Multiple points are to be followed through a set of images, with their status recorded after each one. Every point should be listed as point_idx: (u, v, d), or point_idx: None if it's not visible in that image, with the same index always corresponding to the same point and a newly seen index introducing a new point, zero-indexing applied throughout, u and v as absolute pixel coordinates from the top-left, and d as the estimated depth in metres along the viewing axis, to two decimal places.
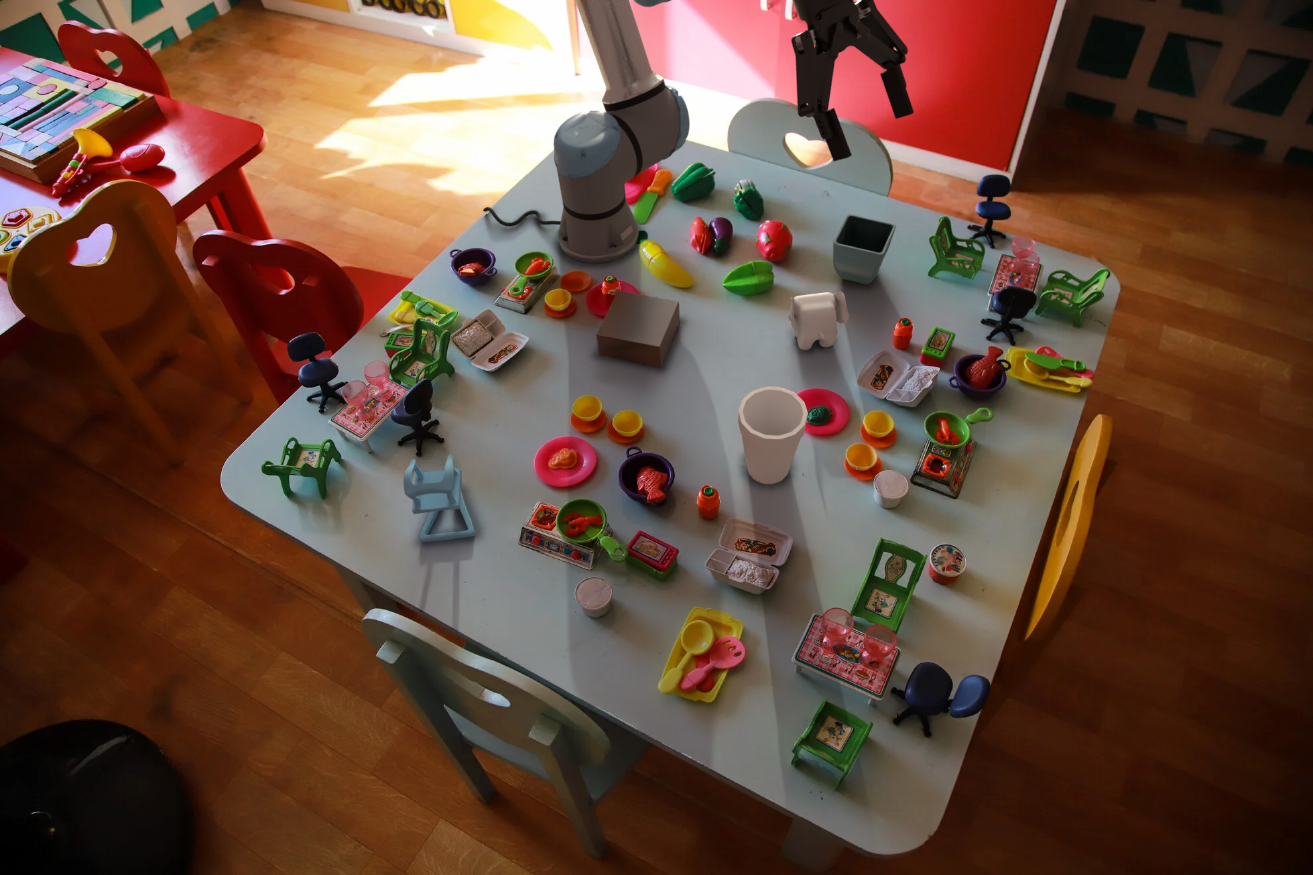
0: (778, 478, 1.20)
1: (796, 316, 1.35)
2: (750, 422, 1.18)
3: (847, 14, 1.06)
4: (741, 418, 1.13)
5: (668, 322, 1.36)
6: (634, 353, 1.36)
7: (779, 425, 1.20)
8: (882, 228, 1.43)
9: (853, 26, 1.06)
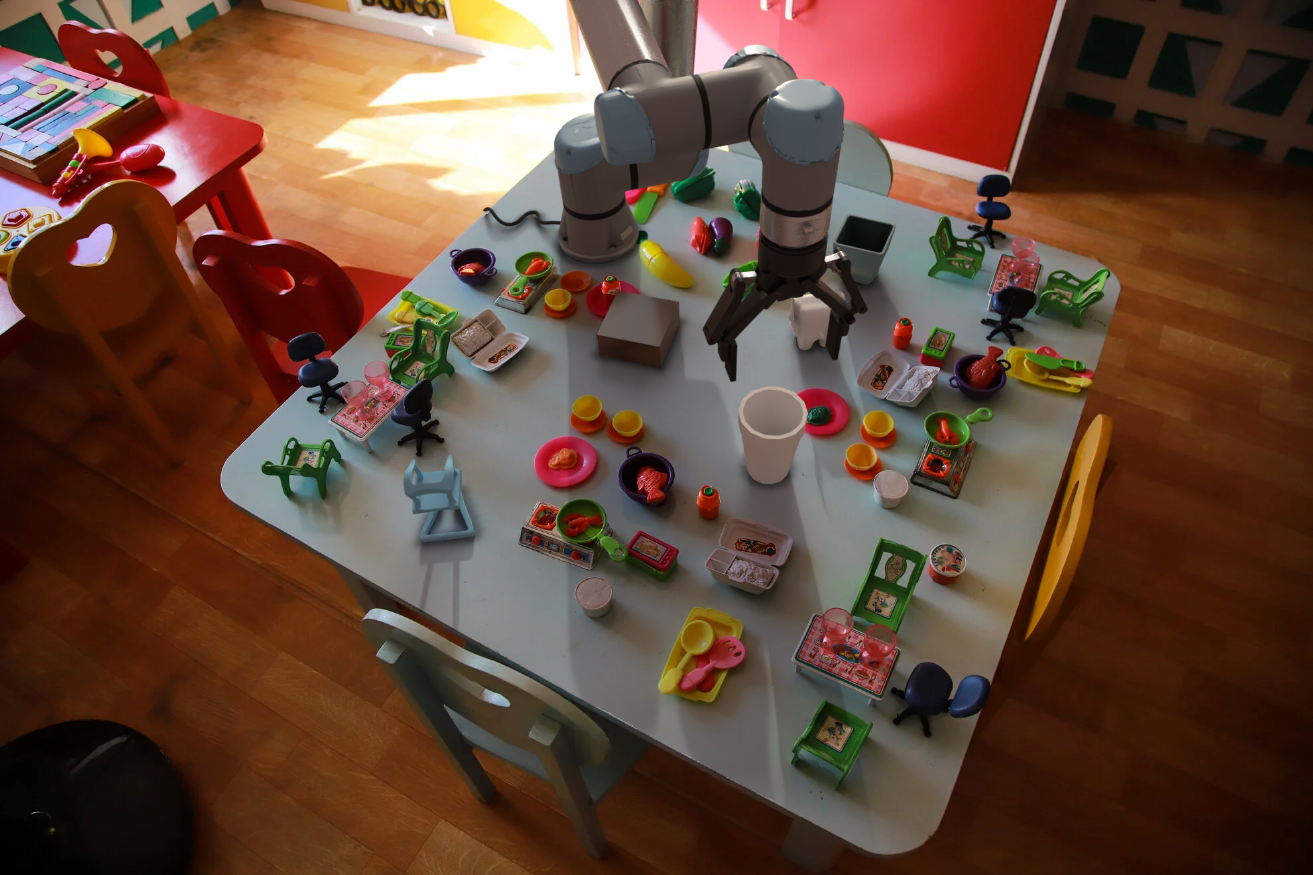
0: (778, 478, 1.20)
1: (796, 316, 1.35)
2: (750, 422, 1.18)
3: None
4: (741, 418, 1.13)
5: (668, 322, 1.36)
6: (634, 353, 1.36)
7: (779, 425, 1.20)
8: (882, 228, 1.43)
9: (803, 288, 0.94)
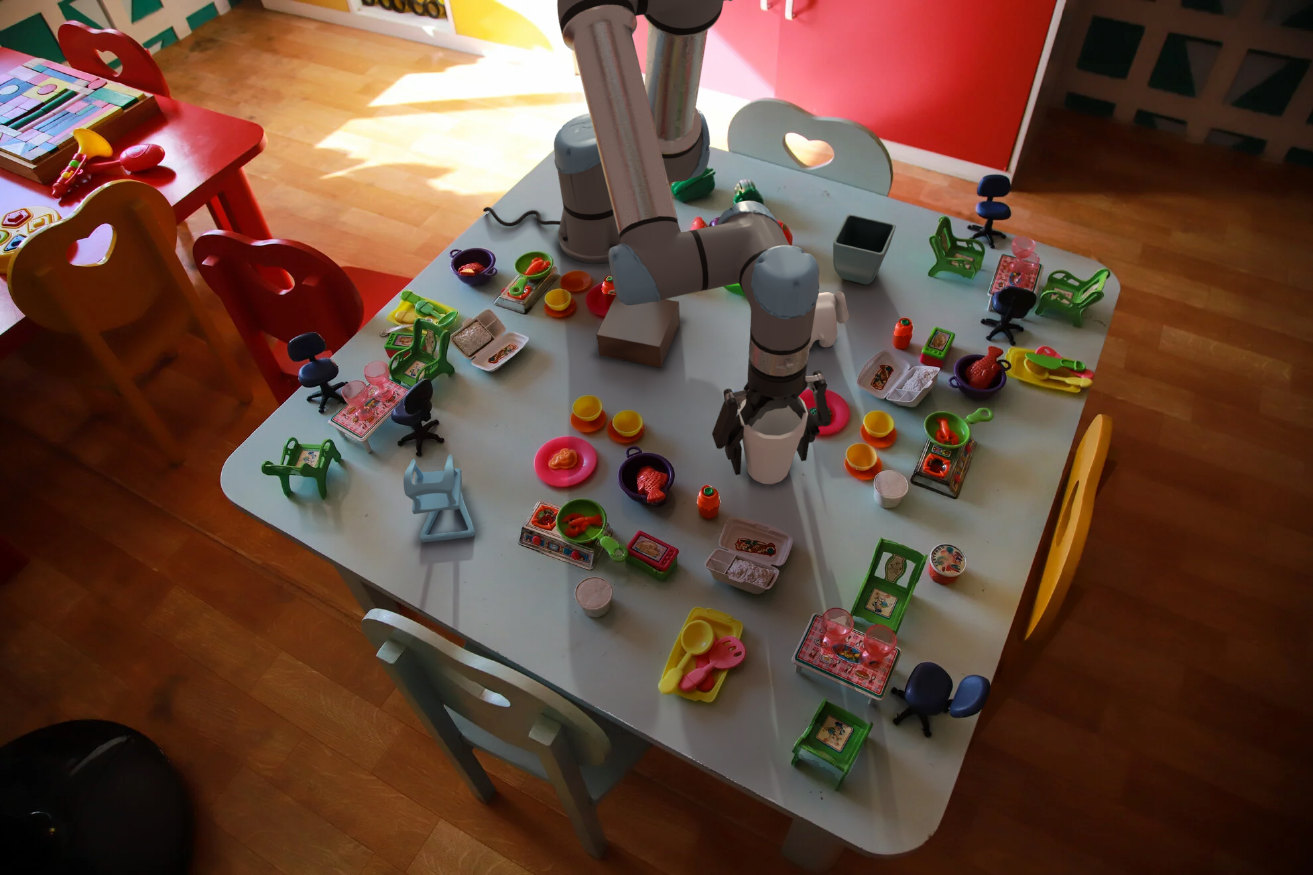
0: (778, 478, 1.20)
1: None
2: None
3: None
4: (741, 418, 1.13)
5: (668, 322, 1.36)
6: (634, 353, 1.36)
7: (779, 425, 1.20)
8: (882, 228, 1.43)
9: (786, 402, 1.09)
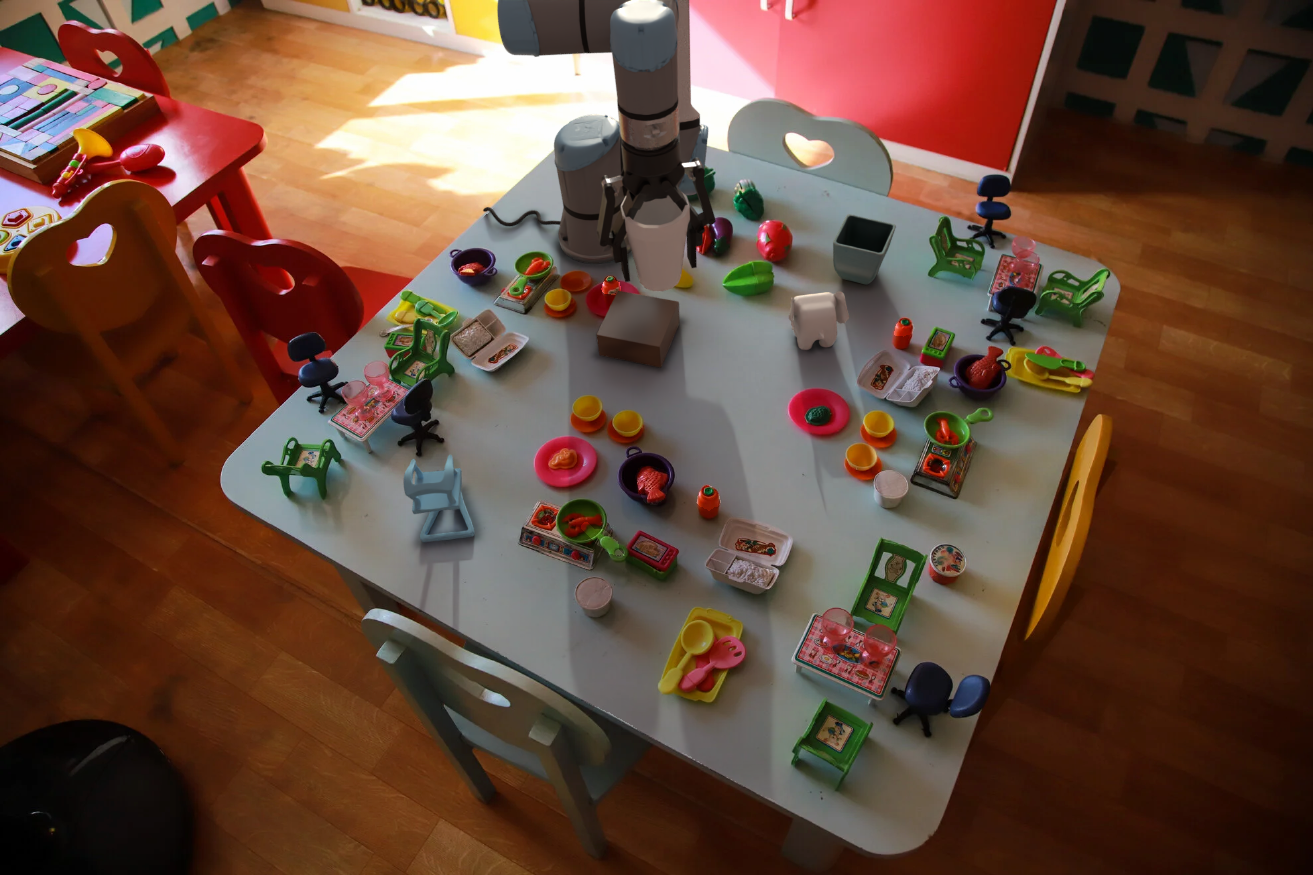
0: (668, 284, 1.20)
1: (796, 316, 1.35)
2: None
3: (666, 175, 1.08)
4: (622, 212, 1.12)
5: (668, 322, 1.36)
6: (634, 353, 1.36)
7: None
8: (882, 228, 1.43)
9: (663, 189, 1.08)
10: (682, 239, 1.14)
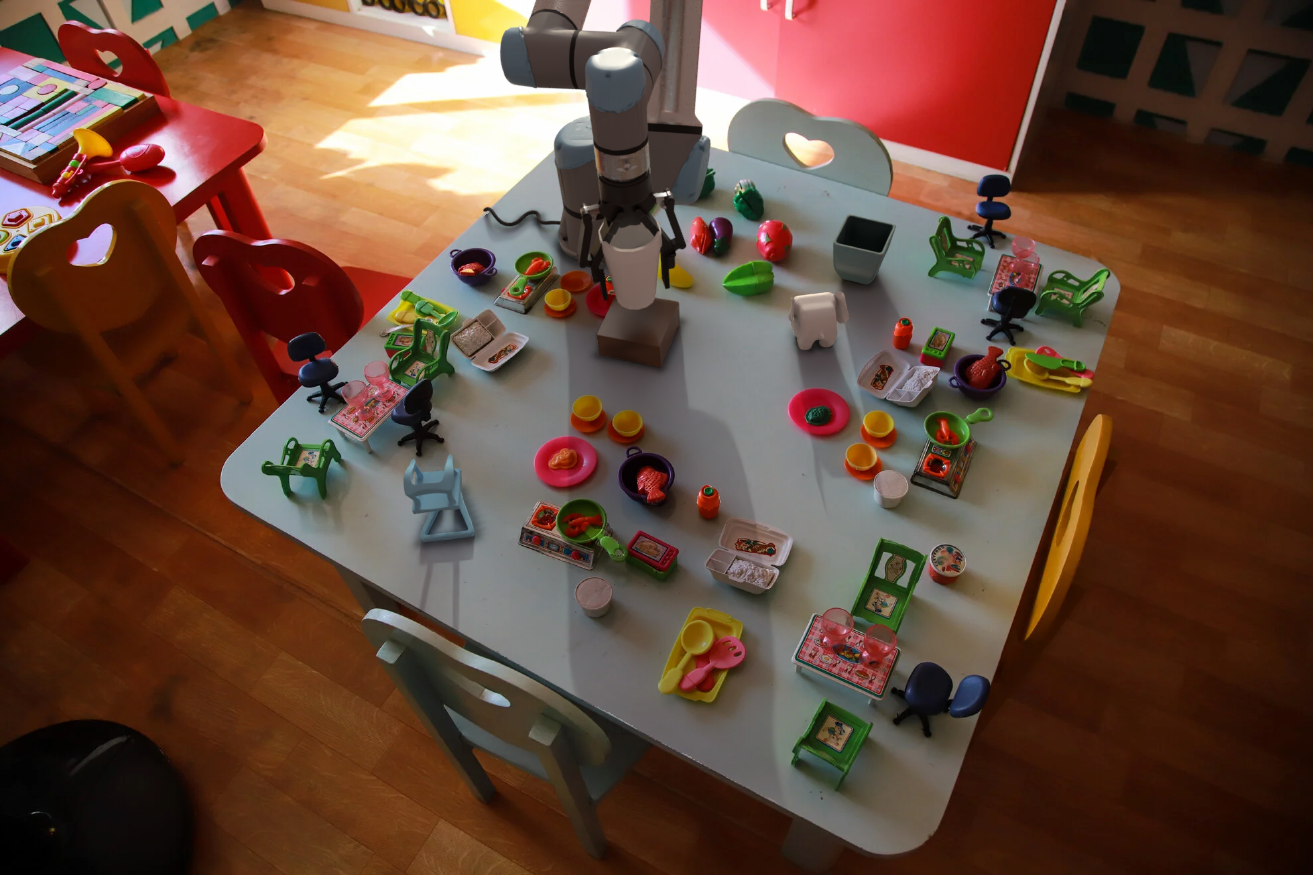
0: (642, 303, 1.30)
1: (796, 316, 1.35)
2: None
3: (639, 204, 1.18)
4: (600, 236, 1.22)
5: (668, 322, 1.36)
6: (634, 353, 1.36)
7: None
8: (882, 228, 1.43)
9: (636, 216, 1.19)
10: (655, 262, 1.24)
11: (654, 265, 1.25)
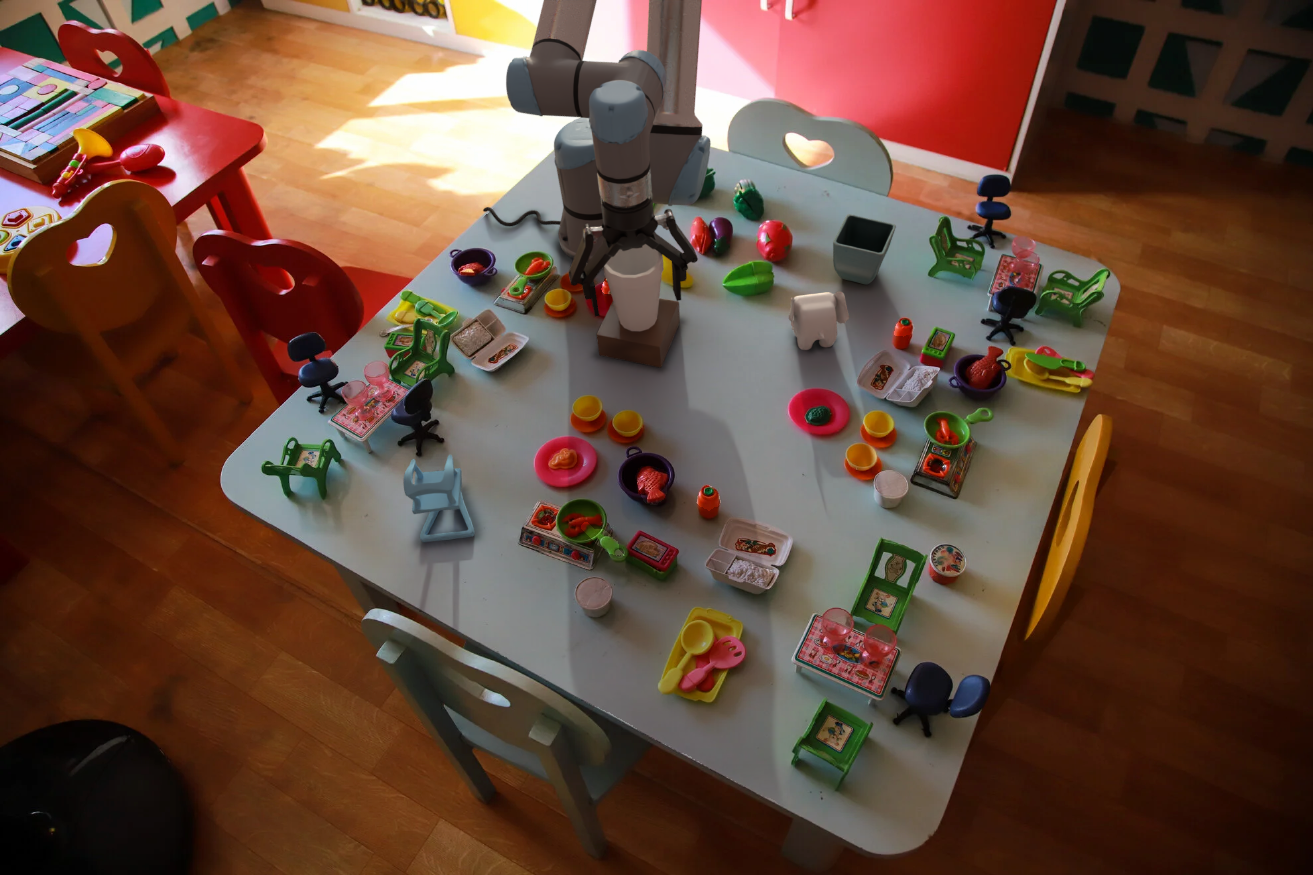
0: (645, 325, 1.34)
1: (796, 316, 1.35)
2: (617, 272, 1.32)
3: (641, 228, 1.21)
4: None
5: (668, 322, 1.36)
6: (634, 353, 1.36)
7: None
8: (882, 228, 1.43)
9: (639, 240, 1.22)
10: (656, 286, 1.28)
11: (656, 289, 1.29)
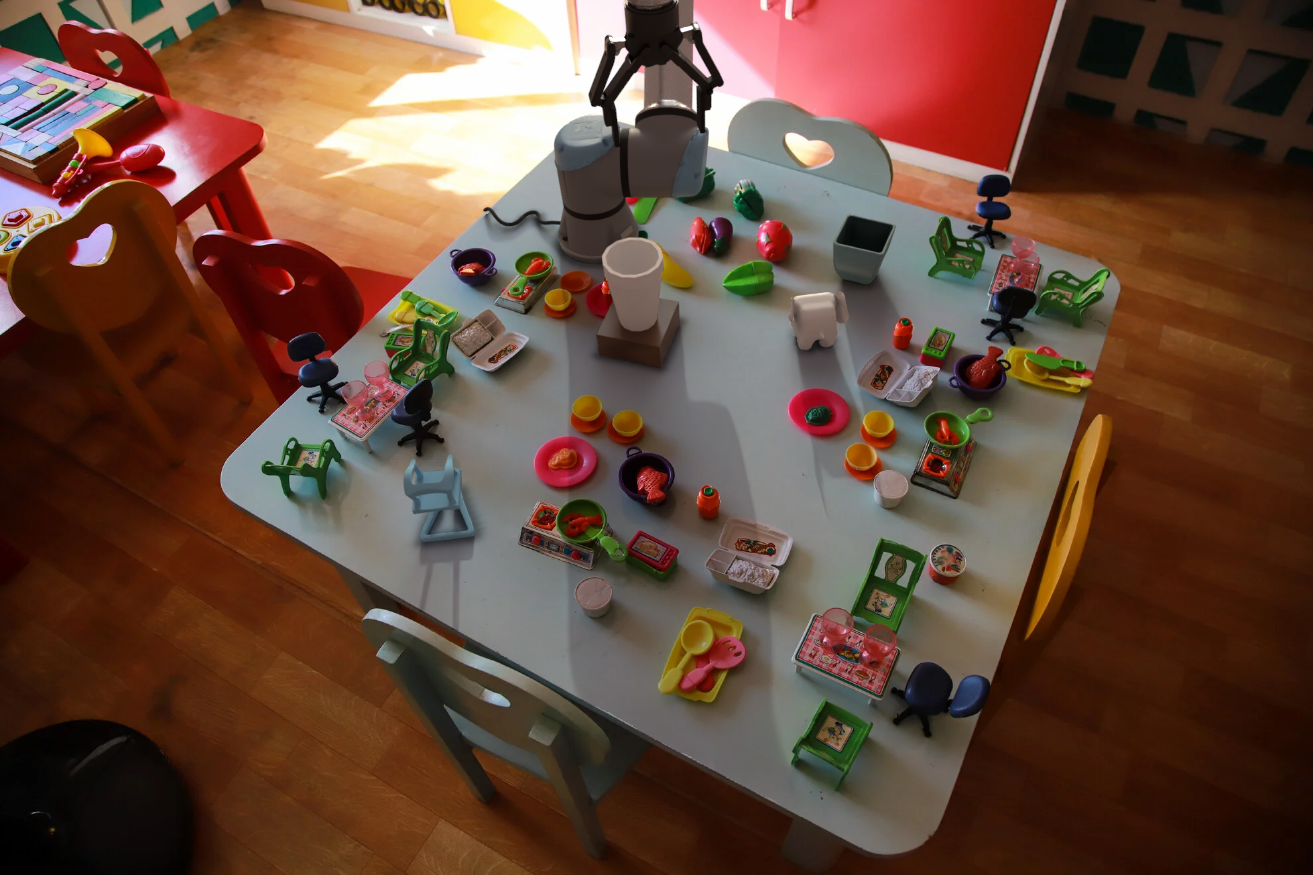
0: (645, 325, 1.34)
1: (796, 316, 1.35)
2: (617, 272, 1.32)
3: (665, 40, 1.16)
4: (603, 262, 1.26)
5: (668, 322, 1.36)
6: (634, 353, 1.36)
7: None
8: (882, 228, 1.43)
9: (664, 54, 1.17)
10: (656, 286, 1.28)
11: (656, 289, 1.29)
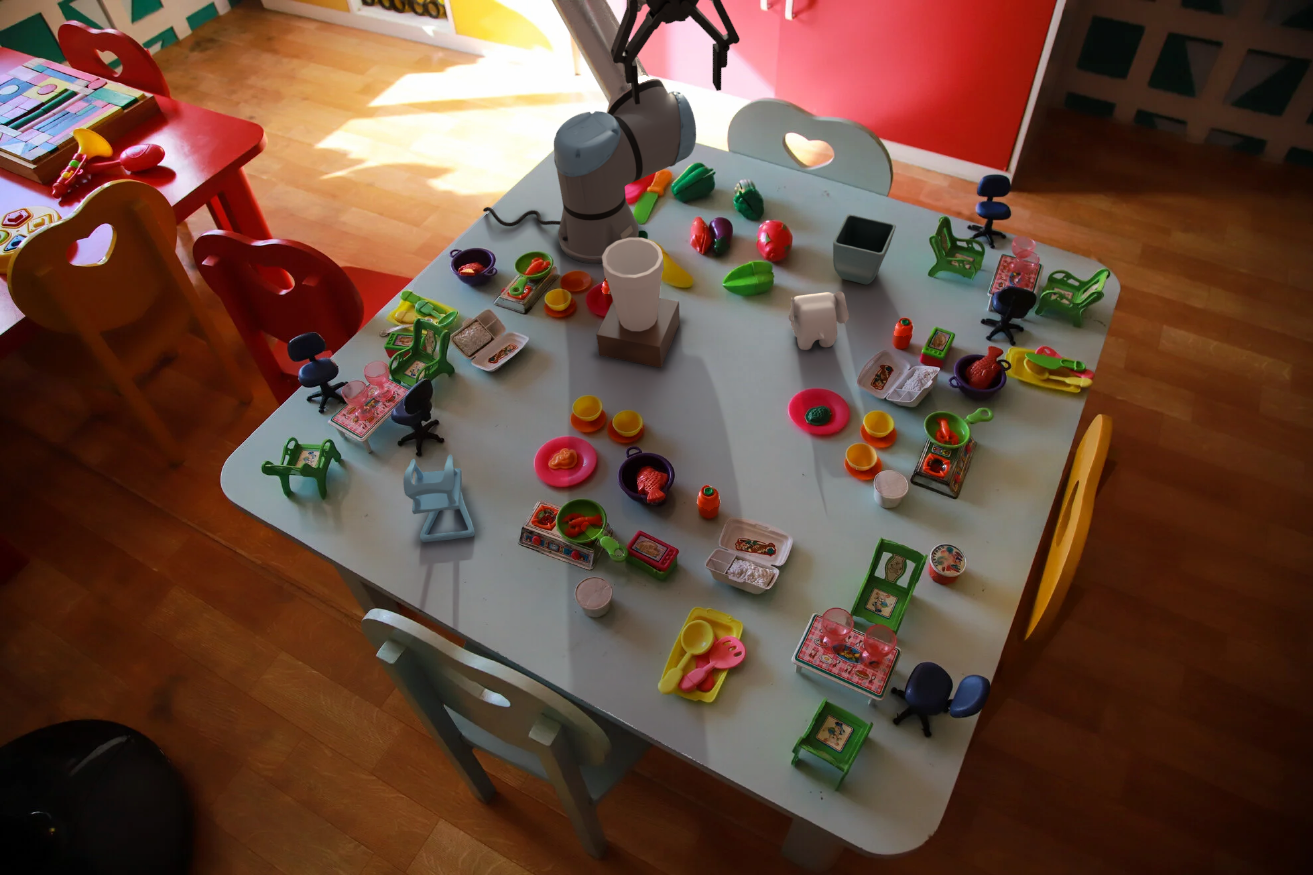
0: (645, 325, 1.34)
1: (796, 316, 1.35)
2: (617, 272, 1.32)
3: None
4: (603, 262, 1.26)
5: (668, 322, 1.36)
6: (634, 353, 1.36)
7: None
8: (882, 228, 1.43)
9: (683, 9, 1.22)
10: (656, 286, 1.28)
11: (656, 289, 1.29)
